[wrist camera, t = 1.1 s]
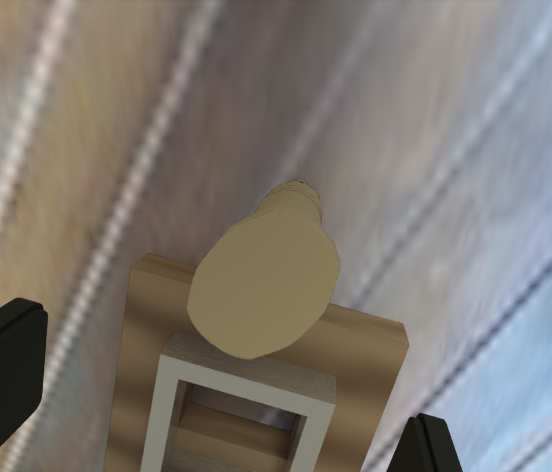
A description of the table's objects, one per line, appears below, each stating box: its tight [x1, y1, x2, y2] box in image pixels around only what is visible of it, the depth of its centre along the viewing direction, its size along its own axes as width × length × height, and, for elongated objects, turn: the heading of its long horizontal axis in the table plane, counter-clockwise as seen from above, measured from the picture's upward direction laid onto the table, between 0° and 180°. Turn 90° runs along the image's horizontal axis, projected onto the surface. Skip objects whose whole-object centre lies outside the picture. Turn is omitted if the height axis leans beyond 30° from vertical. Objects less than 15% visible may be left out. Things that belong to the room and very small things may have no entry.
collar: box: [140, 331, 336, 472], centre depth 32 cm, size 12×12×3 cm
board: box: [103, 253, 409, 472], centre depth 35 cm, size 20×20×3 cm
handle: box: [187, 179, 340, 360], centre depth 24 cm, size 5×6×15 cm
